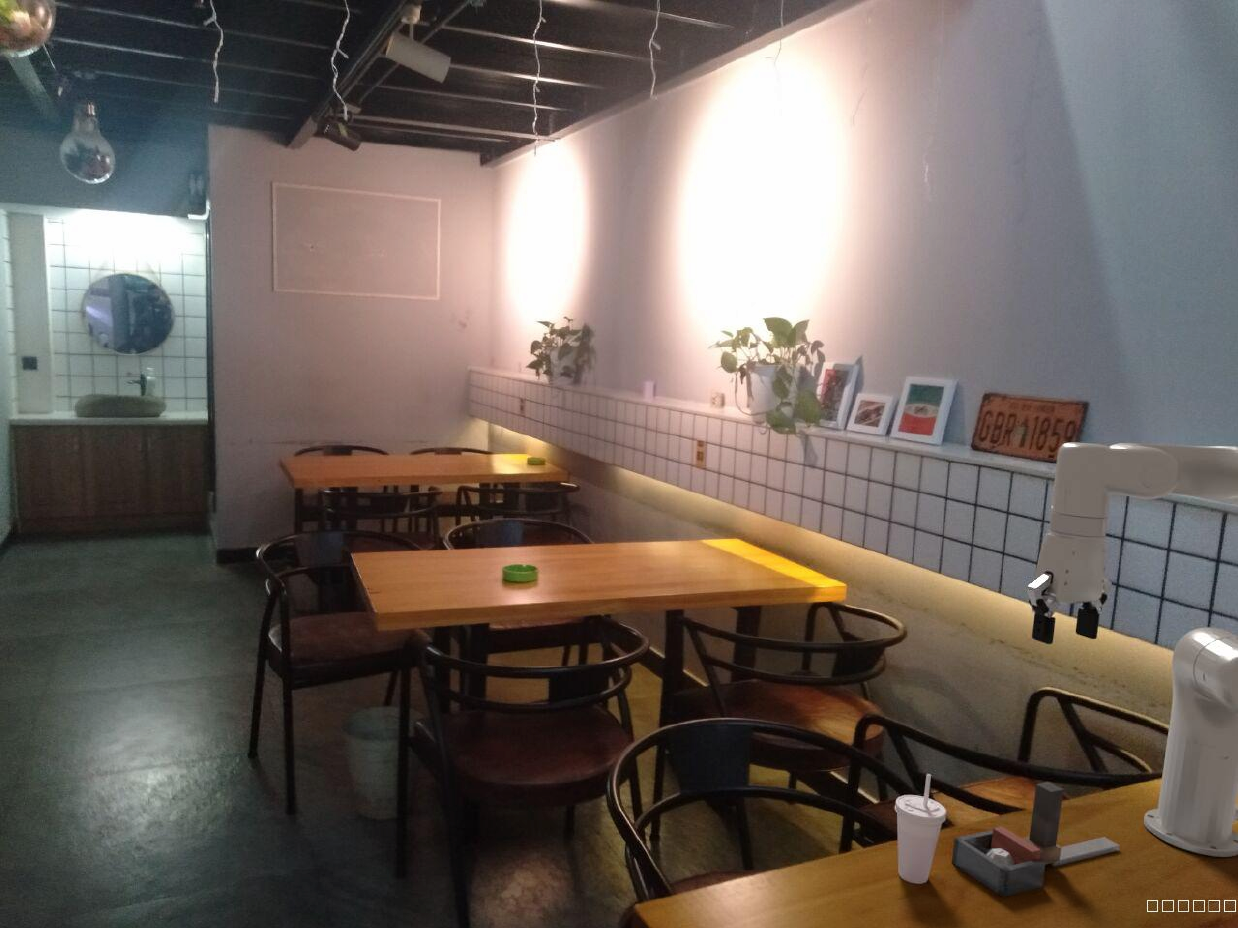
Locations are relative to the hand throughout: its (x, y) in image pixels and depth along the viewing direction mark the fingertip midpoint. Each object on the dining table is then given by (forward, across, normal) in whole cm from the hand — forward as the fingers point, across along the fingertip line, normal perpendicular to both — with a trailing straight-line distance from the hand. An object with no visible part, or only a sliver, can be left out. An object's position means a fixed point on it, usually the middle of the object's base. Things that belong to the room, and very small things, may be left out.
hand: (1064, 638), depth 137 cm
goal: (+28, +20, +9) cm, 36 cm away
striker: (+27, +15, +9) cm, 32 cm away
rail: (+28, +4, +10) cm, 30 cm away
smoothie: (+28, +32, +6) cm, 43 cm away
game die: (+28, +20, +9) cm, 36 cm away
